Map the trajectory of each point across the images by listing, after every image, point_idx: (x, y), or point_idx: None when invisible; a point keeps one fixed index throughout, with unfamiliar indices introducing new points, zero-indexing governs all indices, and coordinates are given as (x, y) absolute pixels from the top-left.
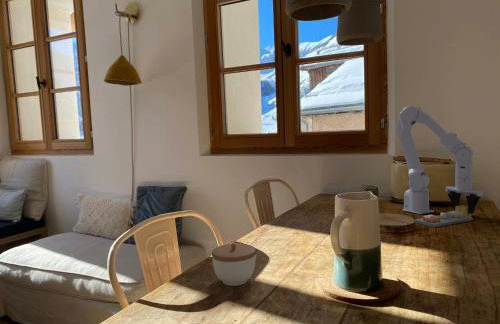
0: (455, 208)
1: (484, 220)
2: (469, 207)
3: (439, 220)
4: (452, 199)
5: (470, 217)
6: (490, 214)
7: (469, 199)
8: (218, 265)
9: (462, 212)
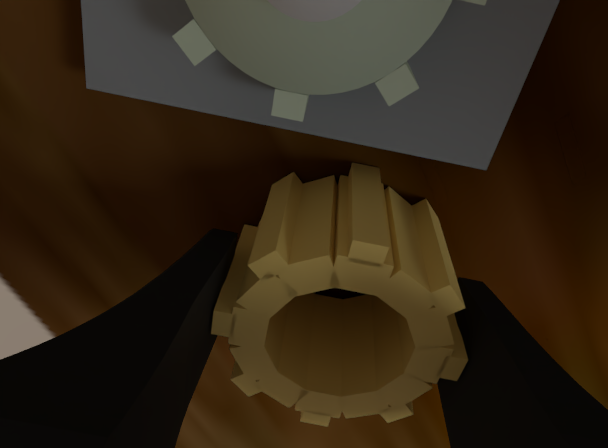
0: (451, 273)
1: (23, 168)
2: (171, 275)
3: None
4: (575, 425)
5: (105, 63)
6: (182, 432)
7: (43, 379)
8: None
9: (311, 212)
